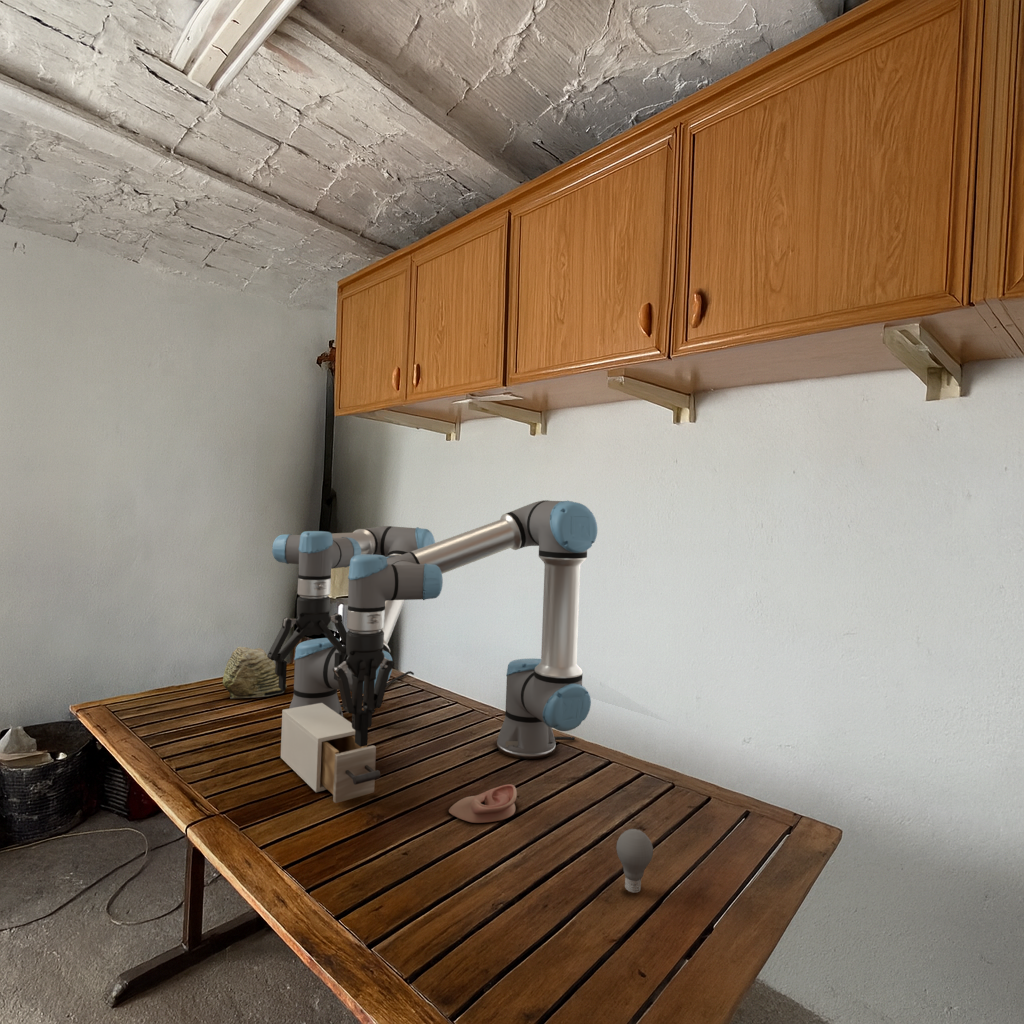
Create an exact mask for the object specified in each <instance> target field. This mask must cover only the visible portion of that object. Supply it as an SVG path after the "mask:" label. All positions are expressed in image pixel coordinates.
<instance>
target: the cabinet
mask: <svg viewBox="0 0 1024 1024" xmlns="http://www.w3.org/2000/svg"><path fill="white" fill-rule="evenodd" d="M281 712H282V713H281V733H280V734H281V735H280V737H281V738H280V740H281V741H280V759H281V760H283V761H284V763H285V764H286V765H287V766H289V767H290V769H292V770H293V771H294V773H296V774H297V776H298V777H300V778H301V779H302V780H303V781H304V782H305V783H306V784H307V785H308V786H309V787H310V788H311V789H312V790H313V792H315V793H320V792H324V791H326V790H327V789H326V788H325V787H324V786H323V785H322V784H321V783H320V775H321V749H322V742H323V741H328V740H333V739H337V738H342V737H346V736H351V735H354V736H355V730H354V729H353V728H352V721H350V720H348V719H347V718H345V717H344V716H343V717H342V716H341V715H339V714H338V713H336V712H335V711H333V710H332V709H330V708H329V707H327V706H326V705H325V704H323V703H318V704H313V705H307V706H301V707H295V708H290V709H289V708H285V709H282V711H281ZM327 791H328V790H327Z"/></svg>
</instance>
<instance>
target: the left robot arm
mask: <svg viewBox="0 0 1024 1024" xmlns="http://www.w3.org/2000/svg"><path fill="white" fill-rule="evenodd" d="M434 543H436V541H435V537H434V535H433V533H432V531H431V530H429V529H427V528H421V527H418V526H417V527H406V526H392V525H391V526H390V525H383V526H375V527H366V528H357V529H355V530H354V531H352V532H337V533H334V532H330V531H326V530H325V531H324V530H306V531H305V530H304V531H303V532H301V534H292V533H287V534H285V533H284V534H280V535H278V536H276V538H275V539H274V540H273V543H272V550H271V553H272V556H273V559H274V560H275V561H276V562H278V563H282V564H286V565H289V564H291V565H298V578H297V595H298V597H297V598H296V617H295V618H288V617H287V616H286V617H283V618H282V623H281V628H280V629H279V631H278V633H277V635H276V637H275V639H274V641H273V643H272V645H271V647H270V649H269V650H268V653H267V657H268V658H269V659H271V660H273V661H275V662H274V663H275V673H276V675H278V676H279V688H280V689H281V690H285V691H286V690H287V687H286V685H287V671H288V670H287V669H288V666H287V665H288V661H286V660H285V659H286V658H287V657H288V656H289V655H290V653H291V652H292V651H293V650H294V648H295V652H294V653H295V654H294V658H293V660H294V672H293V695H292V696H293V697H292V699H291V702H290V704H289V708H288V709H290V708H295V707H301V706H307V705H313V704H318V703H323V704H325V705H326V706H327V707H329V708H330V709H332V710H333V711H335V712H336V713H338V714H339V715H341V716H342V717H343V718H344V714H343V705H342V703H341V702H340V699H339V695H338V691H340V689H339V684H338V679H337V676H336V675H335V673H334V672H333V667H334V666H339V665H340V664H341V663H343V662H344V657H345V655H346V636H347V632H348V631H347V630H346V628H345V626H344V623H343V622H344V621H343V615H342V614H340V613H337V612H335V613H333V614H332V615H331V614H330V611H331V598H330V596H329V595H331V587H332V569H339V568H340V569H341V568H348V567H349V568H350V560H351V558H352V557H353V556H355V555H360V554H371V555H383V556H385V557H390V556H395V557H397V556H400V555H403V554H406V553H409V552H412V551H414V550H417V549H420V548H423V547H425V546H428V545H431V544H434ZM405 601H406V600H391V601H389V600H386V602H385V618H384V628H383V629H382V631H383V632H384V646H383V653H384V657H385V658H386V659H389V660H391V661H393V657H392V655H391V654H390V653H391V648H390V647H389V645H388V644H389V642H390V639H391V637H392V634H393V632H394V630H395V626H396V625H397V621H398V619H399V617H400V614H401V612H402V609H403V606H404V604H405ZM330 623H332V624H333V625H334V627H335V629H336V631H337V634H338V635H339V637H340V639H339V638H337V637H336V636H335V635H334V634H333V633H332V631H331V630H330V628H329V627H328V626H329V624H330ZM294 625H295V626H296V629H295V630H294V631H293V632H292V635H291V636H290V637H289V639H288V640H287V641H286V639H287V638H288V636H289V633H290V631H291V629H292V628H293V627H294ZM321 635H324V637H321V638H313V639H307V640H304V641H302V642H300V641H301V640H302V639H303V638H304V637H305V636H307V637H312V636H321ZM340 640H341V641H340ZM285 641H286V643H285ZM341 642H342V643H341ZM284 643H285V644H284ZM379 669H380V666H379V667H378V669H377V670H376V679H375V682H374V688H375V684H376V680H377V676H378V672H379ZM392 671H393V668H392V669H391V671H390V673H389V677H388V681H387V685H386V688H387V687H388V686H390V685H392V683H394V682H396V681H397V680H399V679H401V678H404V677H406V676H407V675H409V674H410V675H412V676H414V675H415V673H414V672H413V671H411V670H408V671H406V672H404V673H403V674H401V675H399V676H396V677H394V678H393V679H391V680H390V677H391V675H392ZM346 675H347V678H348V682H349V687H350V692H351V693H352V673H351V671H350V670H349V669H348V667H347V674H346ZM389 680H390V681H389ZM363 691H364V681H363ZM362 701H363V697H362Z"/></svg>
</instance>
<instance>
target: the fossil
mask: <svg viewBox="0 0 1024 1024" xmlns="http://www.w3.org/2000/svg"><path fill="white" fill-rule="evenodd" d="M267 655H268V653H266V652H265V650H264V649H263V648H260V647H258V648H251V647H247V646H246V647H245V646H238V647H237V648H236V649H235V650H233V651H232V653H231V656H230V657H229V659H228V660H227V663H226V666H225V668H224V671H223V675H222V676H223V677H222V685H223V687H224V688H225V690H226V691H228V693H229V698H230V699H250V698H264V697H271V696H275V695H281V694H284V693H285V691H286V690H281V689H280V688H279V676H278V675H276V673H275V662H274V660H271V659H269V658H268V657H267ZM287 687H288V686H287V684H286V688H287Z"/></svg>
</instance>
